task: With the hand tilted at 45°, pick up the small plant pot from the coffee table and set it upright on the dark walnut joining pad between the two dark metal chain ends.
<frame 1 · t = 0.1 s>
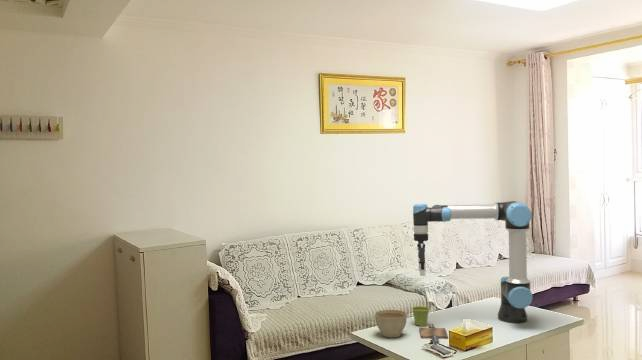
hand: (422, 273, 285), 28 cm above the table, tool pointing down, fingers open, 13 cm apart
plant pot: (421, 324, 287), on the table
joining pad: (433, 334, 270), on the table
planter bowl: (391, 335, 271), on the table
chain ends: (433, 334, 270), on the table
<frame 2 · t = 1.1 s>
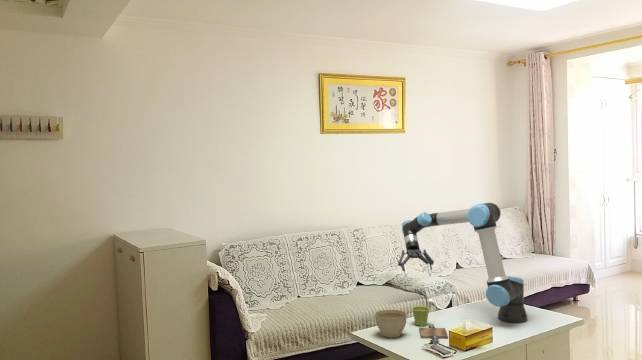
hand: (418, 275, 299), 24 cm above the table, tool tilted 45°, fingers open, 13 cm apart
nothing on the table moved.
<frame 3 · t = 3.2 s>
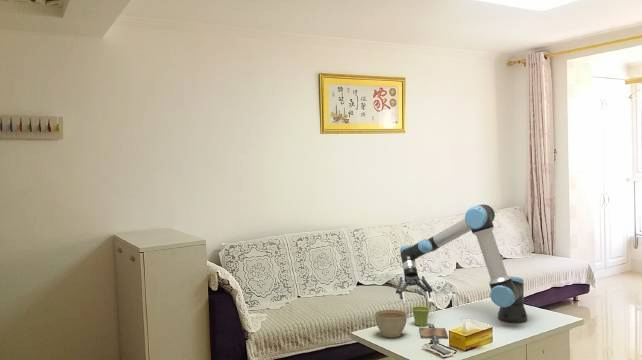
hand: (416, 303, 292), 10 cm above the table, tool tilted 45°, fingers open, 13 cm apart
nothing on the table moved.
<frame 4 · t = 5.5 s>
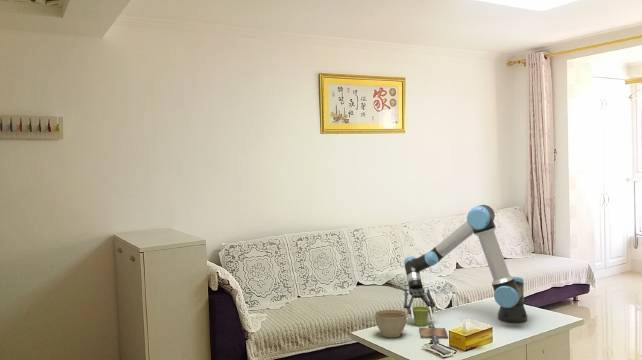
hand: (422, 318, 284), 4 cm above the table, tool tilted 45°, fingers closed on plant pot, 9 cm apart
plant pot: (421, 324, 287), on the table, touching gripper
everything else where it was.
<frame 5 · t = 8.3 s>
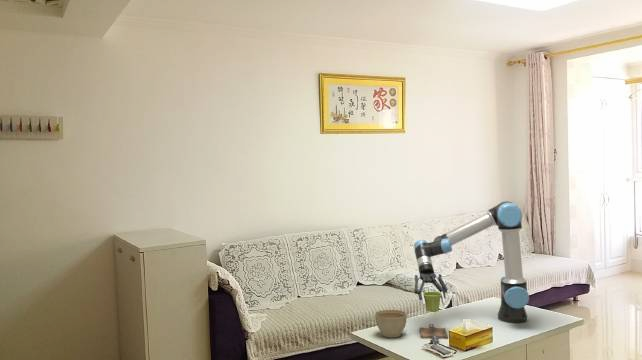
hand: (434, 304, 267), 16 cm above the table, tool tilted 45°, fingers closed on plant pot, 9 cm apart
plant pot: (432, 311, 270), point 12 cm above the table, touching gripper
everything else where it was.
when the fingers open (6 cm above the table, at t = 11.0 s): plant pot drops 1 cm, resting on joining pad.
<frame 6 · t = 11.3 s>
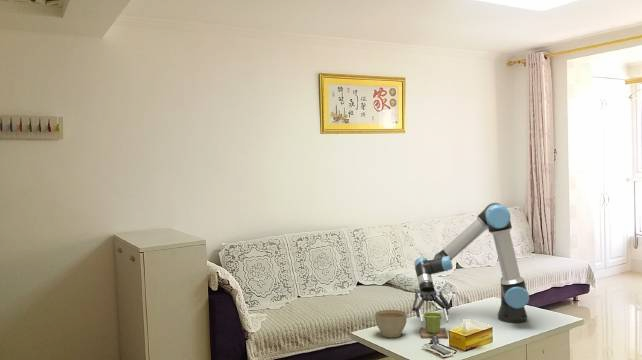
hand: (434, 322, 268), 7 cm above the table, tool tilted 45°, fingers open, 12 cm apart
plant pot: (432, 332, 270), point 1 cm above the table, touching joining pad
everything else where it was.
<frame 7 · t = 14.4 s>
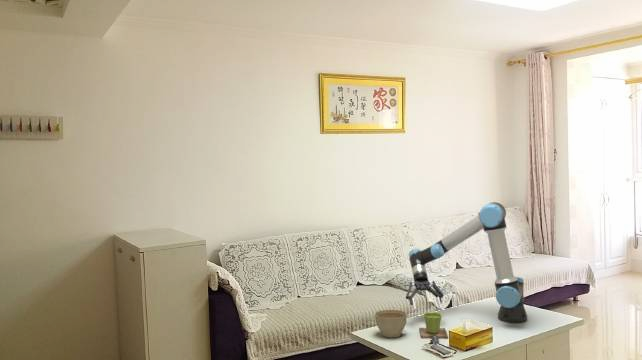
hand: (427, 309, 281), 10 cm above the table, tool tilted 45°, fingers open, 13 cm apart
nothing on the table moved.
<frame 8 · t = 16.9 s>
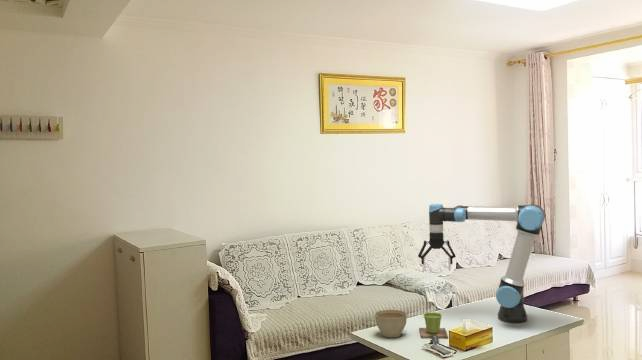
hand: (437, 270, 297), 27 cm above the table, tool pointing down, fingers open, 13 cm apart
nothing on the table moved.
at the end: plant pot inside the target area on the joining pad (0.1 cm from its centre), point 1.0 cm above the joining pad's base; plant pot tilted 0°; the gripper is holding nothing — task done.
